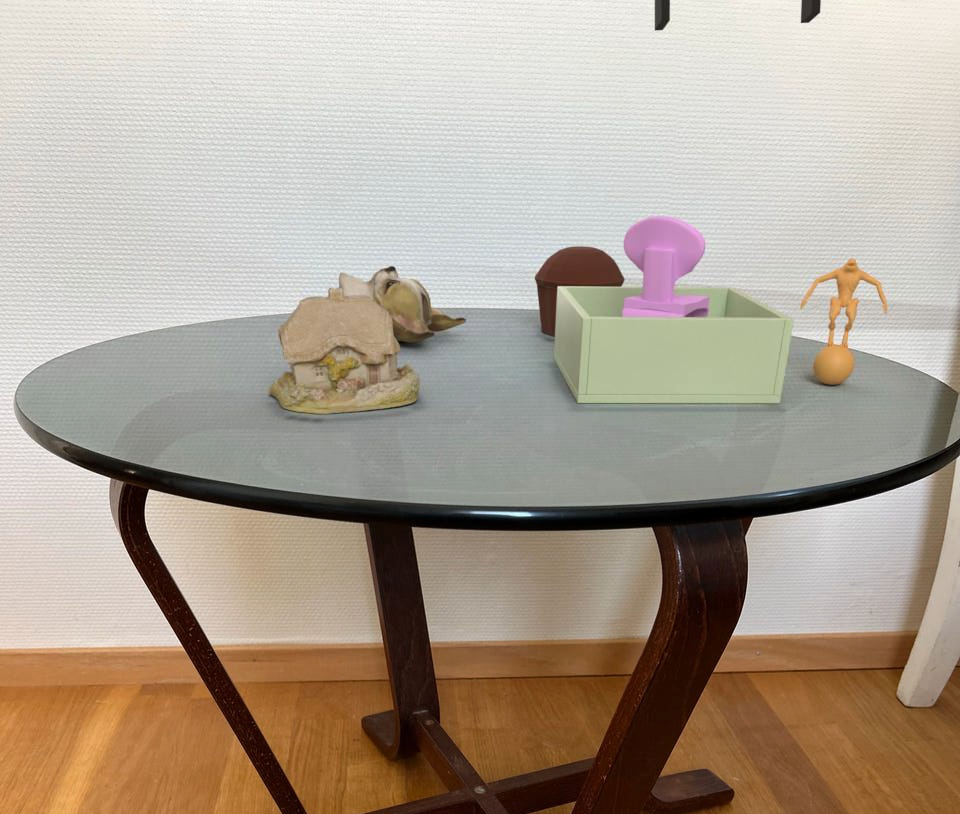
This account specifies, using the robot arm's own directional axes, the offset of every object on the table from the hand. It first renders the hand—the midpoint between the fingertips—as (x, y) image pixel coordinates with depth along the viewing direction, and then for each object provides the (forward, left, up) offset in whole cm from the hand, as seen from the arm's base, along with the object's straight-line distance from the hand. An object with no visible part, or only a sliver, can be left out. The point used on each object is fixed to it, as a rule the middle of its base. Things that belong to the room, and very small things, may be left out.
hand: (736, 22), depth 85 cm
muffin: (+9, -24, -32) cm, 41 cm away
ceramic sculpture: (+32, -18, -32) cm, 49 cm away
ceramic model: (+36, +10, -32) cm, 49 cm away
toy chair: (+5, +3, -31) cm, 32 cm away
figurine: (-14, +3, -32) cm, 35 cm away
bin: (+4, +2, -32) cm, 32 cm away
